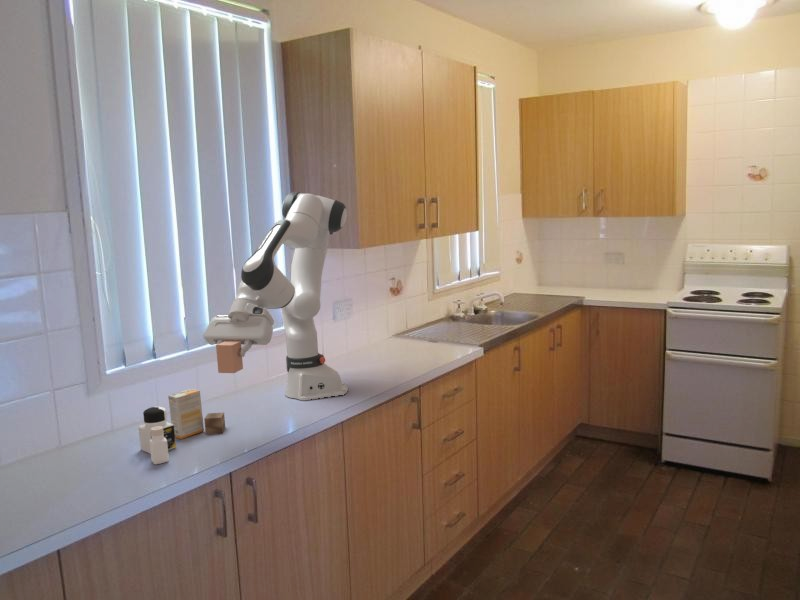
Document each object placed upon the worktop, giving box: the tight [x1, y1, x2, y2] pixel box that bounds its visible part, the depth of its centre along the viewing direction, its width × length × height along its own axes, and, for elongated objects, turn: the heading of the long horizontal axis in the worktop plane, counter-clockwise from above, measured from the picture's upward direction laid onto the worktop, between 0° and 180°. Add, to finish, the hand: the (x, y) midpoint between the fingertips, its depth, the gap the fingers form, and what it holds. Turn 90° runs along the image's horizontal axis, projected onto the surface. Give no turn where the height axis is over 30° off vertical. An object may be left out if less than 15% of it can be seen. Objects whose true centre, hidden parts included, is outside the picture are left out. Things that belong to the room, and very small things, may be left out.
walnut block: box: [203, 411, 226, 435], centre depth 199 cm, size 5×5×5 cm
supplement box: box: [167, 388, 205, 440], centre depth 197 cm, size 8×5×13 cm, turn 141°
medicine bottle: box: [138, 406, 177, 455], centre depth 186 cm, size 7×7×12 cm
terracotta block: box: [215, 341, 244, 374], centre depth 185 cm, size 5×5×8 cm
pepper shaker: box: [149, 426, 170, 465], centre depth 176 cm, size 4×4×10 cm
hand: (230, 355), depth 185 cm, fingers closed on terracotta block, 5 cm apart
